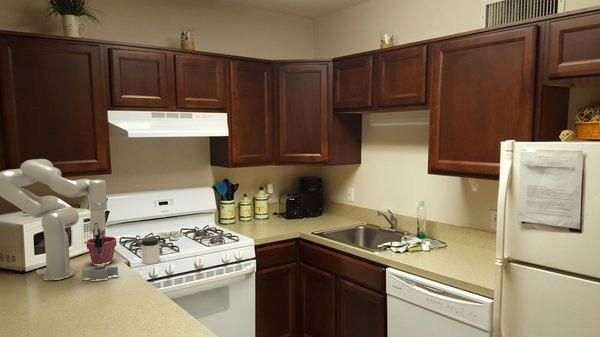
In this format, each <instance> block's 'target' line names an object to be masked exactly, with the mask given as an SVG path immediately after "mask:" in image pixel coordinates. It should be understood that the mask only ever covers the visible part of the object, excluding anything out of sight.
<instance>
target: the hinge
mask: <svg viewBox="0 0 600 337" xmlns="http://www.w3.org/2000/svg"><path fill="white" fill-rule="evenodd" d="M110 265H111V264H109V265H106V266H93V267H92V268H83V269H81V278H82V279H85V278H90V279H91V280H96V279H105V278H108V276H113V275H118V276H119V267H118V266H110ZM91 280H90V281H91Z"/></svg>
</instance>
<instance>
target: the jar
mask: <svg viewBox="0 0 600 337" xmlns="http://www.w3.org/2000/svg"><path fill="white" fill-rule="evenodd" d="M140 247H141V263H142V264H144V265H145V264H146V265H151V264H157V263H158V262H159V261H160V259H161V257H160V243H159V238H158V237H147V238H143V239H142V241H141V246H140Z"/></svg>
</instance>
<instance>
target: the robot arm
mask: <svg viewBox="0 0 600 337" xmlns="http://www.w3.org/2000/svg"><path fill="white" fill-rule="evenodd" d="M19 167H20V168H16V169H5V170H2V171H0V197H1V198H2V199H4V200H6V201H8V202H10V203H11V204H13V205H14V206H16V207H17V208H18V209H20V210H22V211H23V212H24V213H26V214H27V215H28V216H30V217H32V218H35V219H41V228H42V230H43V235H44V248H45V250H44V251H45V266H46V267H45V268H44V269H36V271H35V272H36V275H38V276H39V275H43V276H42V279H43V278H44V279H47V280H55V279H61V278H65V277H68V276H71V275H72V274H73V273H74V271H73V270H71V267H70V261H71V260H70V243H69V242H70V240H69V235H68V233H67V232H66V229H67V228H70V227H74V226H75V225H76V224H77V223H79V221H80V215H79V213H78V210H77V209H75V208H74V207H72V205H70V204H69V203H67V202H66V201H64V200H62V199H61V198H59V197H57V196H55V195H43V196H38V195H36V194H34V193H33V192H32V191H30V190H29V189H26V188H23V187H25V186H30V185H32V184H34V183H36V182H40V183H41V184H44V185H47V186H49V188H50V189H51V190H52V191H53V192H55V193H56V194H58V195H61V196H64V197H67V198H78V197H84V196H87V198H88V199H87V200H88V201H87V202H88V212H90V218H89V219H90V220H89V226H90V227H89V231H90V233H91V234H93V232H94V234H93V235H94V236H93V238H95V239H94V240H95V248H97V247H102V246H103V245H104V237H105V236H104V234H105V233H104V234H103V243H102V236H101V232H102V231H103V230H106V211H107V210H108V199H107V182H106V181H105V180H104V179H89V178H82V179H81V178H80V179H75V180H70V179H67V178H65V177H62V171H61V170H60V168H57V167H54V165H53V162H51V161H50V160H49V159H45V158H38V159H28V160H25V161H24V162H23V163H22V164H21V165H20V166H19ZM98 231H100V232H98ZM98 233H100V234H98ZM71 273H72V274H71ZM74 274H75V273H74Z"/></svg>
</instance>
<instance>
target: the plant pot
mask: <svg viewBox="0 0 600 337" xmlns="http://www.w3.org/2000/svg"><path fill="white" fill-rule="evenodd" d="M94 239H95V237H92V238H89V239H87V240H86V242H85V244H86V249H87V250H88V251H89V257H90V260H91V264H92V263H94V264H102V263H107V262H110V261H112V262H113V257H114V253H115V248H116V247H117V243H118V242H117V238H116V237H113V236H104V245H103V251H104V252H103V253H99V254H97V253H96V248H95V240H94Z"/></svg>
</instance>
